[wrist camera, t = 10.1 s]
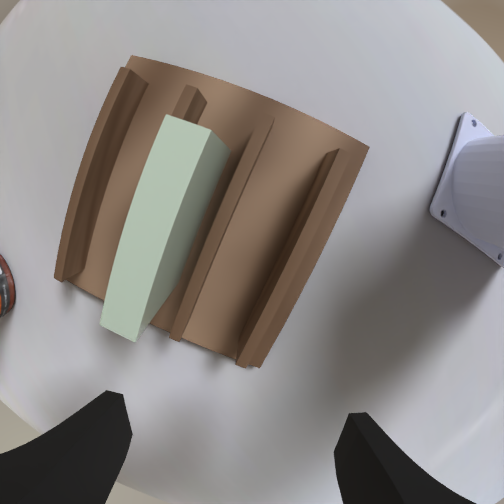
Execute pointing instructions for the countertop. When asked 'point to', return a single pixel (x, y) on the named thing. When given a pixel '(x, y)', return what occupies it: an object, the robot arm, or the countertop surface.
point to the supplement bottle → (6, 288)
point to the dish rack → (214, 204)
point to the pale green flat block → (162, 223)
